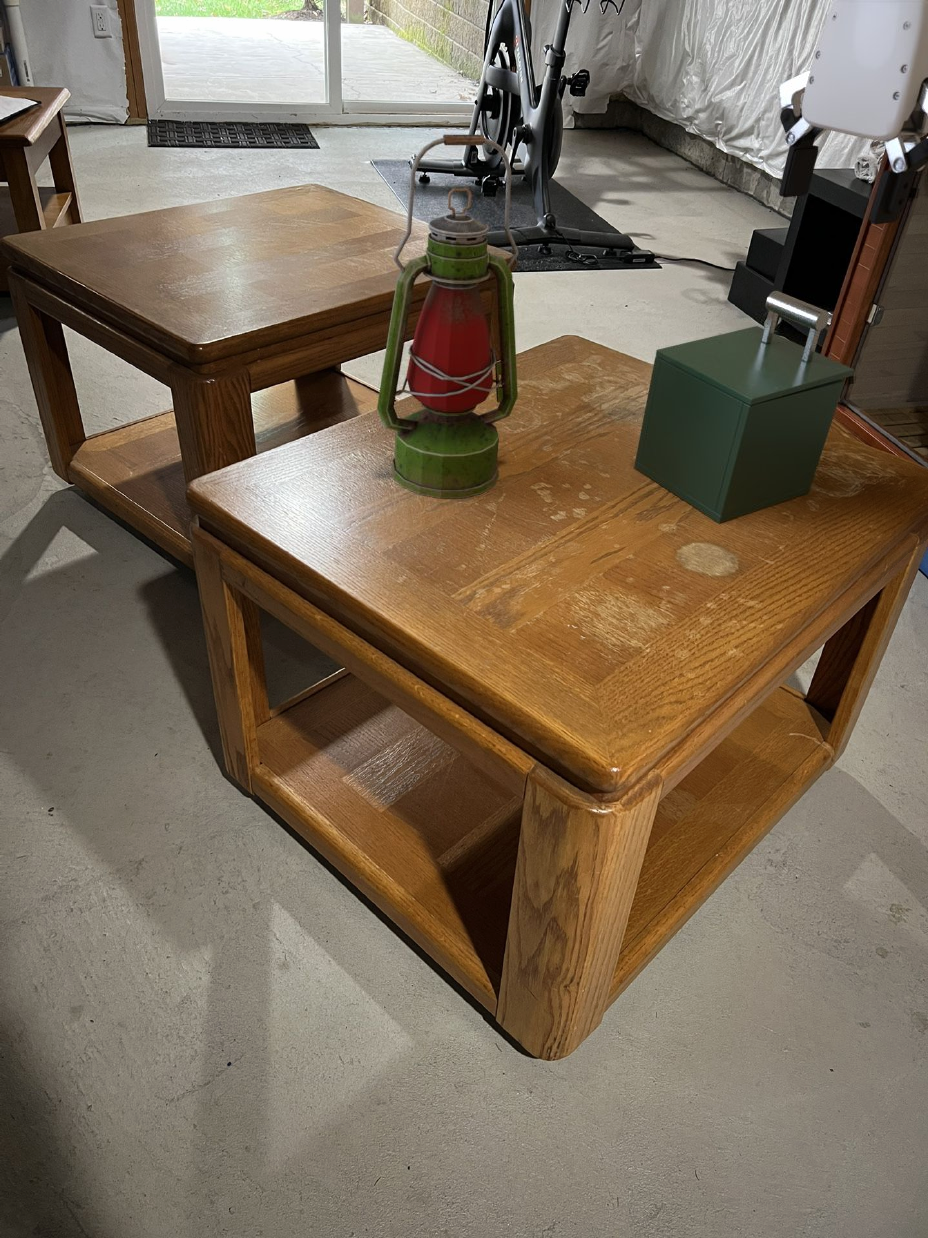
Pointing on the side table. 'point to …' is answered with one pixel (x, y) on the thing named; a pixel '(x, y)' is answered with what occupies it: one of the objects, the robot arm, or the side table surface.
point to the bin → (731, 442)
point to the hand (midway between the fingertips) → (836, 208)
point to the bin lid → (761, 356)
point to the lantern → (451, 353)
